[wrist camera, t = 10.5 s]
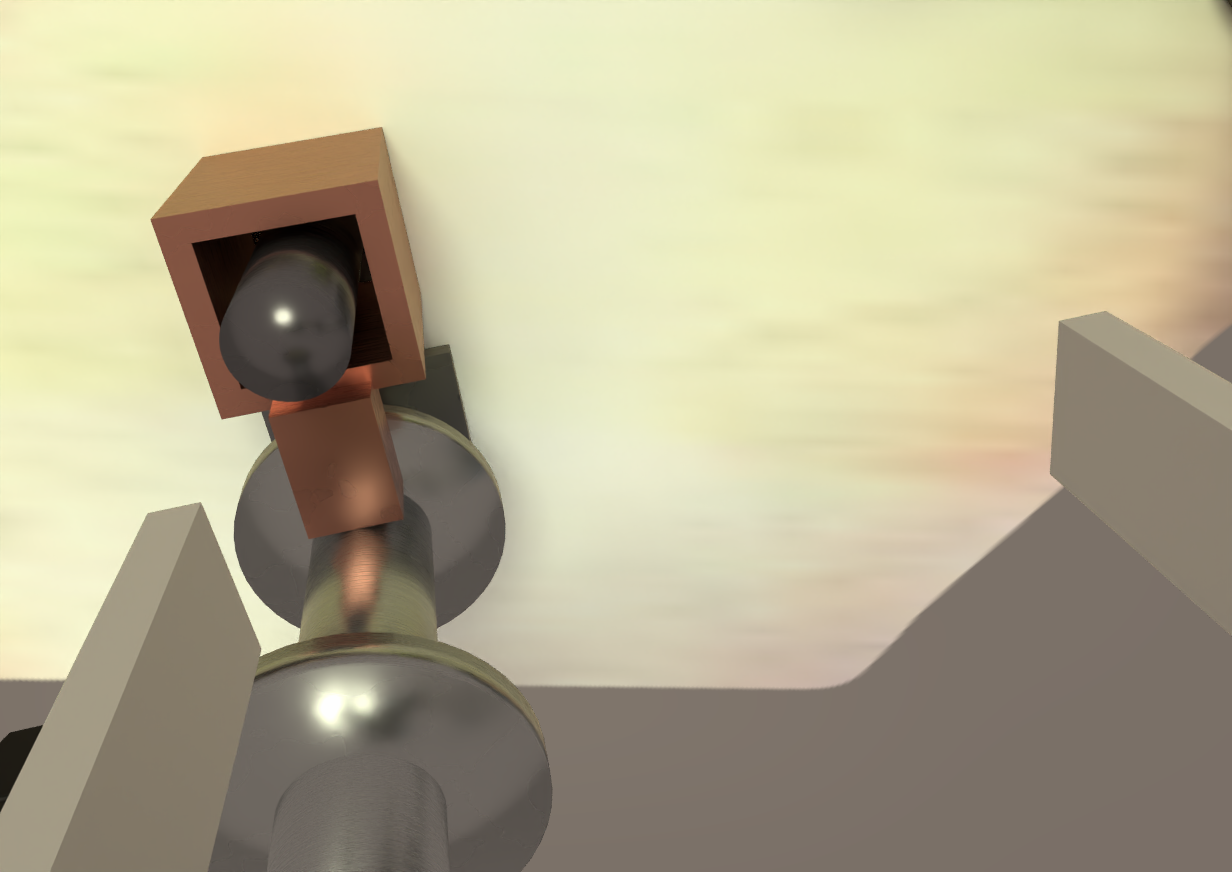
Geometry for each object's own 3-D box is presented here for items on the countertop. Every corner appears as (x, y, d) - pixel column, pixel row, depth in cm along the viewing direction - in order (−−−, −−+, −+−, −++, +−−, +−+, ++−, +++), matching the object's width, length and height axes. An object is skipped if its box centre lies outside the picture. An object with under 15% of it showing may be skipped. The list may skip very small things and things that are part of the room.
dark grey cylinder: (351, 174, 43) (332, 273, 31) (374, 262, 45) (364, 388, 33) (258, 190, 43) (201, 297, 31) (284, 279, 45) (241, 412, 33)
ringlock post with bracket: (422, 120, 43) (457, 406, 18) (507, 516, 52) (610, 1070, 27) (159, 164, 42) (-212, 539, 16) (295, 561, 51) (194, 1185, 26)
